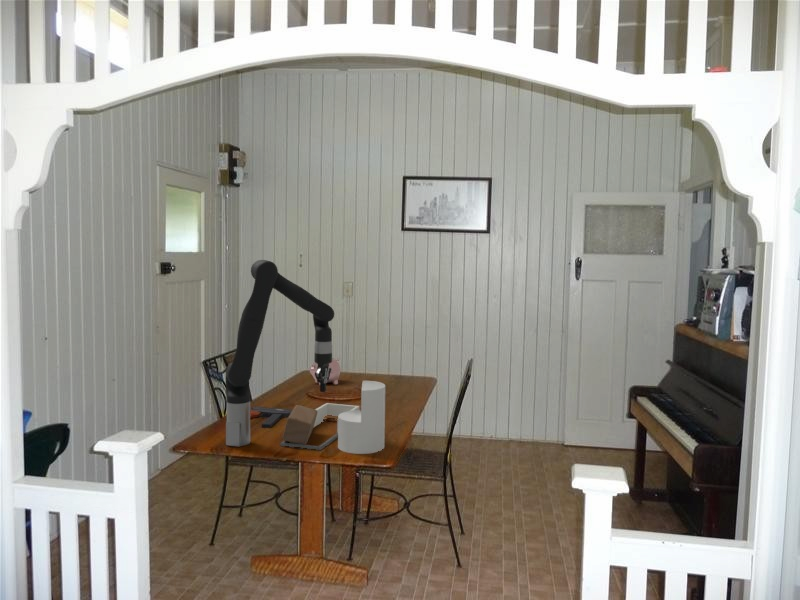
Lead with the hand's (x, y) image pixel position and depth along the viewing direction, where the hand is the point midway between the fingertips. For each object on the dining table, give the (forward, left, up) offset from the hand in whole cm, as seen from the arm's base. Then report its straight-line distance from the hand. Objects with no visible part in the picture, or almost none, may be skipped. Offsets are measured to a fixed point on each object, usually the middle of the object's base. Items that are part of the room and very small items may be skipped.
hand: (323, 391), depth 278 cm
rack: (+11, 0, -18) cm, 21 cm away
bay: (-11, 0, -18) cm, 21 cm away
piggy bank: (+93, +39, -18) cm, 102 cm away
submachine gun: (+11, +30, -19) cm, 37 cm away
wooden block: (-2, +8, -12) cm, 14 cm away
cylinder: (-12, -22, -18) cm, 31 cm away
